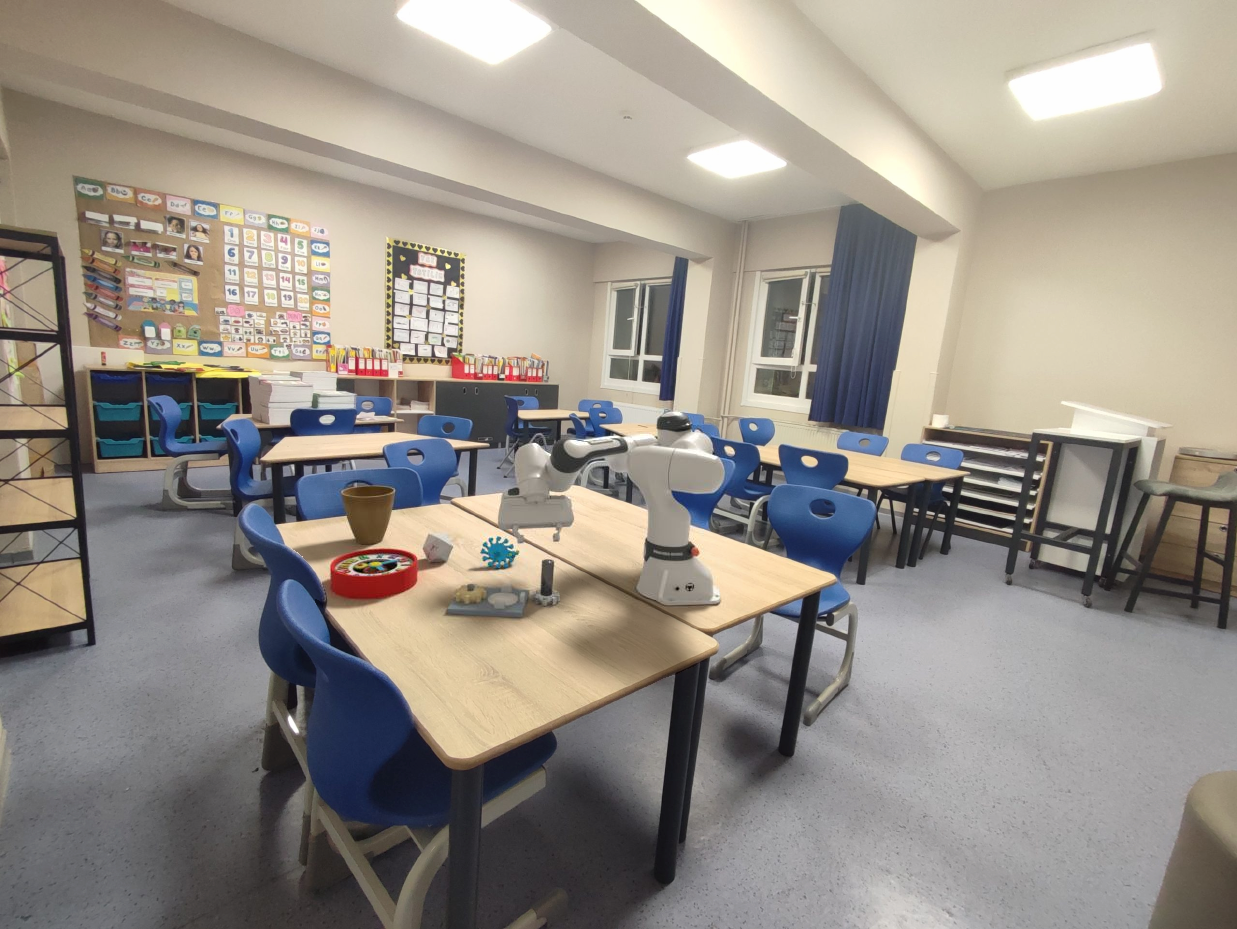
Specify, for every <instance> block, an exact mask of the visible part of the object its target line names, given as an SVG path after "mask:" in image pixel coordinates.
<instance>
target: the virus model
mask: <svg viewBox="0 0 1237 929" xmlns="http://www.w3.org/2000/svg"><path fill="white" fill-rule="evenodd" d="M495 538H496V539H495V540H496V541H495V543H494V537H489V538H488V542H489V545H490V546H488V542H487V541H485V542H483V543H482V546H483V547H484V548H481V549H480V554H481V555H483V556H482V557H481V558H482V561H483V562H486V561H488V563H487V566H488V567H489V568H491V567H492V566H493V565H494V564H495V563H497V564H496V565H495V569H497V570H500V568H501V563H502V562H503V566H502V567H503V568H504V569H506V568H508V567H509V564H511V563H513V562H515V559H516V556H519V554H520V550H518V549H517V550H513V549H514V544H513V543H511V544H509V545H507V544H508V543H509V541H510V540H509V539H508V538H504V540H503V541H502V542H500V541H501V540H502V537H501V536H497V535H496V537H495ZM505 544H506V545H505ZM486 549H487V550H486ZM486 555H487V556H486ZM507 559H508V562H509V563H508V562H507ZM489 560H490V561H489ZM491 560H492V561H491Z"/></svg>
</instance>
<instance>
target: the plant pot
mask: <svg viewBox="0 0 1237 929" xmlns="http://www.w3.org/2000/svg"><path fill="white" fill-rule="evenodd" d="M340 493H341V498H342V503H343V507H344V512H345V515H346V518H347V522H348V525H349V527H350V531H351V532H352V535H353V537H354V538H355V541H356V543H358V544H360V545H361V544H362V545H372V544H377V543H378V544H379V543H381V542H382V541H383V540H384V538H385V536H386V532H387V529H388V526H389V523H390V519H391V515H392V510H393V507H394V501H395V494H396V489H395V488H393V487H390V486H385V485H361V486H354V487H352V486H351V487H349V488H345V489H343V490H341V492H340Z"/></svg>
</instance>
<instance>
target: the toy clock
mask: <svg viewBox="0 0 1237 929" xmlns="http://www.w3.org/2000/svg"><path fill="white" fill-rule="evenodd" d="M329 570H330V575H329V576H330V590H331V592H332V593H334V594H335V595H337V596H339V597H341V598H342V597H343V598H346V599H352V600H353V599H354V600H377V599H383V598H388V597H394V596H397V595H399V594H402V593H405V592H408V591H409V590H411V589H412V588H413V587H415V585H417V583H418V557H417V555H416V554H415V553H412V552H411V551H408V550H403V549H398V548H385V547H384V548H383V547H382V548H366V549H361V550H355V551H352V552H348V553H345V554H341V555H340V556H338V557H336V558H334V560H332V562H331V563H330V568H329Z"/></svg>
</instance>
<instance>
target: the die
mask: <svg viewBox="0 0 1237 929" xmlns="http://www.w3.org/2000/svg"><path fill="white" fill-rule="evenodd" d="M453 548H454V545H453V543H452V541H451V538H450V536H449V534H448V532H438V533H437V532H435V533H431V532H430V533H428V534H427V536H426V539H425V541H424V544H423V547H422V550H423V553H424V555H425V558H426V560H427V563H444V562H445V563H447V562H448V560H449V559H450V555H451V553H452V550H453Z"/></svg>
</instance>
